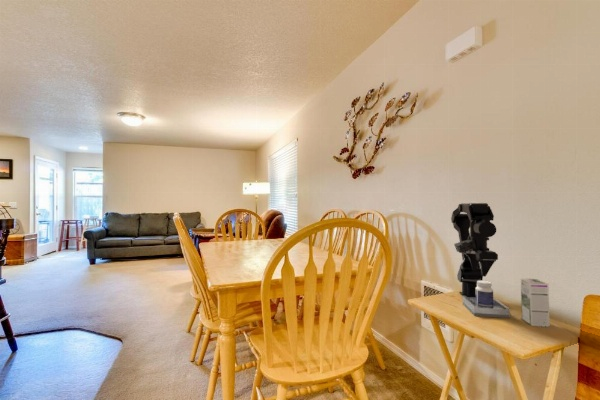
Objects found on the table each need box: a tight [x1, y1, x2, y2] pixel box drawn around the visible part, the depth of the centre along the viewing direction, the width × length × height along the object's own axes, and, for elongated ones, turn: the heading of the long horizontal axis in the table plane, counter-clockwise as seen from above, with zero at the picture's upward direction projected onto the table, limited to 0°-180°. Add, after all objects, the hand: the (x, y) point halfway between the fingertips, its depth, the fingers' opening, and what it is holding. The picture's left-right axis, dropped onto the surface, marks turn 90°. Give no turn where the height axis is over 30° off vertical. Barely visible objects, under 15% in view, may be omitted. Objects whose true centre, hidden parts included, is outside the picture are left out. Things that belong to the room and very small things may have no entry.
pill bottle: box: [476, 280, 494, 308], centre depth 109 cm, size 6×6×10 cm
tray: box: [462, 296, 511, 319], centre depth 108 cm, size 12×11×4 cm
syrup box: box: [520, 278, 551, 328], centre depth 97 cm, size 6×6×14 cm
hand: (478, 273), depth 113 cm, fingers open, 9 cm apart
